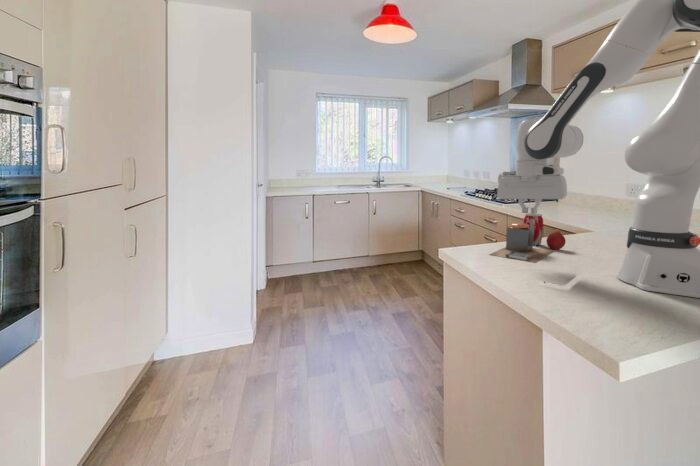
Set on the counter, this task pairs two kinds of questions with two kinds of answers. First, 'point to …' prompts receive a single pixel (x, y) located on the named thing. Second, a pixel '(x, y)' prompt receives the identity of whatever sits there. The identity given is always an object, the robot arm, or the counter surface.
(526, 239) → the socket
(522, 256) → the keeper
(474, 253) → the counter surface
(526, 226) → the pin
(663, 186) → the robot arm
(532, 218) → the soda can
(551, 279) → the counter surface
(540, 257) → the board
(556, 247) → the onion
